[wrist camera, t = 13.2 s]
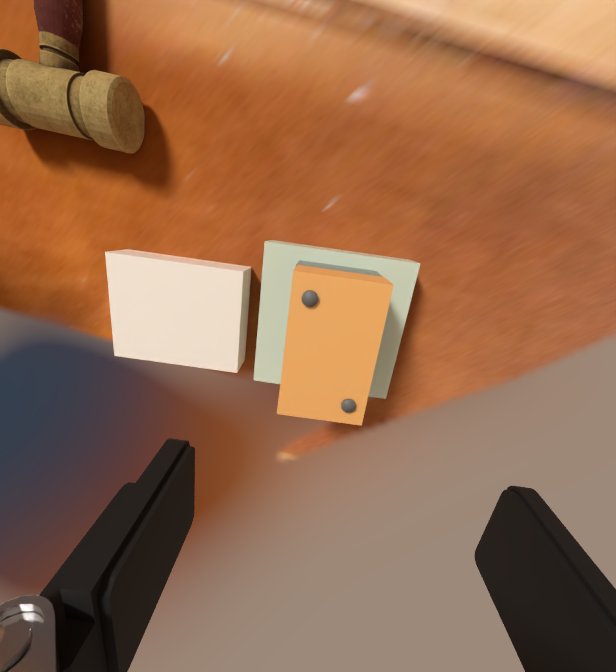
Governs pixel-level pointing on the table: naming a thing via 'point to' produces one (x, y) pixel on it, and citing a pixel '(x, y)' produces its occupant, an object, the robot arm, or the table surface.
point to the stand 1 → (178, 309)
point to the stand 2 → (277, 299)
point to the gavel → (68, 86)
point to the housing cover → (332, 343)
